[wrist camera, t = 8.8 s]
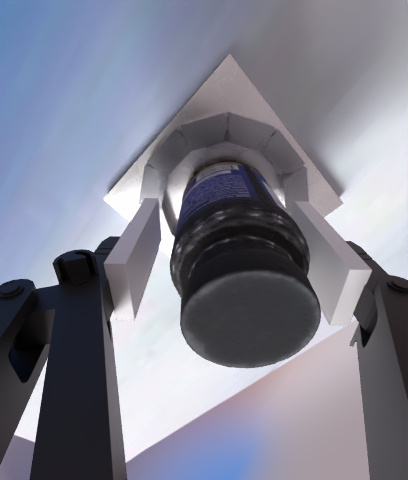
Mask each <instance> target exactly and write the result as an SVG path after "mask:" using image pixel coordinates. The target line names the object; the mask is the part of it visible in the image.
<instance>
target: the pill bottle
mask: <svg viewBox="0 0 408 480" xmlns="http://www.w3.org/2000/svg"><path fill="white" fill-rule="evenodd" d="M309 264H310V253H309V247H308V245H307V241H306V239H305V237H304V235H303V233H302V231H301V230H300V228H299V227H298V225H297V224H296V222H295V221H294V220H293V218H292V217H291V216H290V214H289V213H288V212H287V210H286V209H285V207H284V206H283V204H282V203H281V201H280V200H279V199H278V197H277V196H276V194H275V193H274V191H273V190H272V189H271V187H270V186H269V184H268V183H267V182H266V180H265V178H264V177H263V176H262V175H261V174H260V173H259V172H258V171H257V170H255V169H254V168H251V167H250V166H249V165H246V164H244V163H241V162H237V161H220V162H215V163H213V164H210V165H208V166H206V167H204V168H202V169H200V170H199V171H198V172H197V173H196V174H195V175H194V176H193V177H192V178H191V179H190V181H189V183H188V185H187V186H186V188H185V191H184V194H183V197H182V204H181V209H180V213H179V218H178V223H177V228H176V233H175V238H174V243H173V247H172V253H171V260H170V271H171V273H170V274H171V277H172V281H173V284H174V286H175V288H176V290H177V291H178V294H179V295H180V297H181V319H180V326H181V331H182V334H183V336H184V338H185V340H186V342H187V344H188V345H189V346H190V347H191V348H192V350H193V351H195V352H196V353H197V354H198V355H200V356H201V357H203V358H204V359H206V360H209V361H211V362H213V363H216V364H219V365H222V366H227V367H235V368H255V367H263V366H267V365H271V364H275V363H277V362H279V361H282V360H285V359H287V358H289V357H291V356H293V355H295V354H296V353H297V352H299V351H300V350H301V349H302V348H304V347H305V346H306V345H307V344H308V343H309V342H310V340H311V339H312V338H313V336H314V335H315V333H316V331H317V329H318V327H319V323H320V318H321V309H320V303H319V300H318V297H317V295H316V293H315V291H314V289H313V288H312V285H311V283H310V281H309V279H308V277H307V275H308V272H309Z"/></svg>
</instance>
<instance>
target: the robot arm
mask: <svg viewBox="0 0 408 480" xmlns="http://www.w3.org/2000/svg"><path fill="white" fill-rule="evenodd" d="M292 218H293V220H294V221H295V222H296V224H297V225H298V227H299V228H300V230H301V231H302V233H303V235H304V237H305V239H306V241H307V245H308V247H309V253H310V264H309V272H308V275H307V277H308V279H309V281H310V283H311V285H312V288H313V289H314V291H315V293H316V295H317V297H318V300H319V303H320V308H321V310H322V312H323V314H324V316H325V318H326V319H327V321H328V323H329V325H332V326H349V324H350V322H351V320H352V317H353V315H354V316H355V317H356V319H357V320H358V322H359V325H358V326H357V329H356V331H355V333H354V336H353V338H352V340H351V343H350V346H353V345H354V343H355V342H356V341H357V349H358V360H359V371H360V381H361V391H362V401H363V412H364V422H365V432H366V442H367V452H368V462H369V473H370V480H408V280H406V279H404V278H400V277H397V276H391V275H388V274H387V273H386V272H385V271H384V270H383V269H382V268H381V267H380V266H379V265H378V264H377V263H376V262H375V261H374V260H372V258H371V257H370V256H369V255H367V253H366V252H365V251H364V250H363V249H362V248H361V247H360V246H358V245H356V244H354V243H353V242H351V241H345V240H344V239H343V238H342V237H341V236H340V235H339V234H338V233H337V232H336V231H335V230H334V229H333V228H332V227H331V226H330V225H329V223H328V222H327V221H326V220H325V219H324V218H323V217H322V216H321V215H320V214H319V213H318V212H317V211H316V210H315V209H314V207H313V206H312V205H311V204H310V203H309V202H305V201H295V202H294V207H293V212H292ZM161 240H162V238H161V224H160V211H159V198H145V199H144V201H143V202H142V204H141V206H140V207H139V209H138V210H137V212H136V213H135V215H134V217H133V218H132V220H131V221H130V223H129V224H128V226H127V228H126V229H125V231H124V232H123V234H122V235H121V237H111V236H110V237H109V238H107V239H105V240H104V241H102V242H101V244H100V245H99V246H98V248H97V249H96V250H95V252H94V253H93V252H91V251H89V250H73V251H70V252H66V253H64V254H62V255H60V256H59V257H57V258H56V259H55V260H54V262H53V266H54V269H55V272H56V275H57V278H58V281H59V285H55V286H50V287H44V288H39V289H36V288H35V285H34V283H33V281H31V280H28V279H18V280H12V281H9V282H6V283H3V284H2V285H0V464H1V462H2V460H3V457H4V455H5V453H6V450H7V448H8V446H9V444H10V441H11V439H12V437H13V435H14V433H15V430H16V428H17V426H18V424H19V421H20V419H21V417H22V414H23V412H24V410H25V408H26V405H27V403H28V401H29V399H30V396H31V394H32V392H33V390H34V387H35V385H36V383H37V381H38V378H39V376H40V374H41V371H42V369H43V367H44V365H45V362H46V360H47V358H48V360H47V367H46V374H45V380H44V387H43V394H42V400H41V407H40V414H39V420H38V427H37V434H36V440H35V447H34V454H33V461H32V467H31V474H30V480H127V474H126V463H125V454H124V444H123V434H122V425H121V415H120V405H119V396H118V386H117V376H116V366H115V357H114V347H113V337H112V328H111V322H110V317H111V314H112V312H113V310H114V314H115V319H116V320H135V318H136V315H137V312H138V309H139V306H140V303H141V300H142V297H143V294H144V291H145V288H146V285H147V282H148V279H149V276H150V273H151V270H152V267H153V264H154V261H155V258H156V255H157V252H158V249H159V246H160V243H161Z"/></svg>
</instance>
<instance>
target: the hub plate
mask: <svg viewBox="0 0 408 480" xmlns="http://www.w3.org/2000/svg"><path fill="white" fill-rule="evenodd" d="M220 161H237V162H241V163H244V164H246V165H249V166H250V167H251V168H254V169H255V170H257V171H258V172H259V173H260V174H261V175H262V176H263V177H264V178H265V180H266V182H267V183H268V184H269V186H270V187H271V189H272V190H273V191H274V193H275V194H276V196H277V197H278V199H279V200H280V201H281V203H282V204H283V206H284V207H285V209H286V210H287V212H288V213H289V214H290V216H291V217H292V212H293V207H294V202H295V201H305V202H309V203H310V204H311V205H312V206H313V207H314V209H315V210H316V211H317V212H318V213H319V214H320V215H321V216H322V217H323V218H324V217H325V216H327V215H328V214H329V213H331V212H332V211H333V210H335V209H336V208H338V207H339V206H340V205H342V204H343V202H342V201H341V200H340V198H339V197H338V196H337V194H336V193H335V192H334V190H333V189H332V188H331V186H330V185H329V184H328V182H327V181H326V180H325V178H324V177H323V176H322V174H321V173H320V172H319V170H318V169H317V168H316V167H315V165H314V164H313V163H312V161H311V160H310V159H309V157H308V156H307V155H306V153H305V152H304V151H303V149H302V148H301V147H300V145H299V144H298V143H297V141H296V140H295V139H294V137H293V136H292V135H291V134H290V132H289V131H288V130H287V128H286V127H285V126H284V124H283V123H282V122H281V120H280V119H279V118H278V116H277V115H276V114H275V112H274V111H273V110H272V108H271V107H270V106H269V105H268V103H267V102H266V101H265V99H264V98H263V97H262V95H261V94H260V93H259V91H258V90H257V89H256V87H255V86H254V85H253V83H252V82H251V81H250V79H249V78H248V77H247V75H246V74H245V73H244V72H243V70H242V69H241V68H240V66H239V65H238V64H237V62H236V61H235V60H234V58H233V57H232V56H231V54H229V55H228V56H227V57H226V58H225V59H224V61H223V62H222V63H221V64H220V65H219V66H218V67H217V69H216V70H215V71H214V72H213V73H212V74H211V76H210V77H209V78H208V79H207V80H206V81H205V82H204V84H203V85H202V86H201V87H200V88H199V89H198V90H197V92H196V93H195V94H194V95H193V96H192V97H191V99H190V100H189V101H188V102H187V103H186V104H185V105H184V107H183V108H182V109H181V110H180V111H179V112H178V113H177V115H176V116H175V117H174V118H173V119H172V120H171V122H170V123H169V124H168V125H167V126H166V127H165V128H164V130H163V131H162V132H161V133H160V134H159V135H158V137H157V138H156V139H155V140H154V141H153V142H152V143H151V145H150V146H149V147H148V148H147V149H146V150H145V151H144V153H143V154H142V155H141V156H140V157H139V158H138V160H137V161H136V162H135V163H134V164H133V165H132V166H131V168H130V169H129V170H128V171H127V172H126V173H125V175H124V176H123V177H122V178H121V179H120V180H119V181H118V183H117V184H116V185H115V186H114V187H113V188H112V189H111V191H110V192H109V193H108V194H107V195H106V196H105V198H104V199H103V200H104V201H106V202H107V203H108V204H109V205H111V206H112V207H113V208H114V209H115V210H117V211H118V212H119V213H120V214H122V215H123V216H124V217H125V218H126V219H128V220H129V221H131V220H132V218H133V217H134V215H135V213H136V212H137V210H138V209H139V207H140V206H141V204H142V202H143V201H144V199H145V198H159V211H160V224H161V238H162V240H161V243H160V246H159V249H161V250H162V251H163V252H164V253H166V254H167V255H168V256H169V257H170V258H171V253H172V247H173V243H174V238H175V233H176V228H177V223H178V218H179V213H180V209H181V204H182V197H183V194H184V191H185V188H186V186H187V185H188V183H189V181H190V179H191V178H192V177H193V176H194V175H195V174H196V173H197V172H198V171H199V170H200V169H202V168H204V167H206V166H208V165H210V164H213V163H215V162H220Z"/></svg>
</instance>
